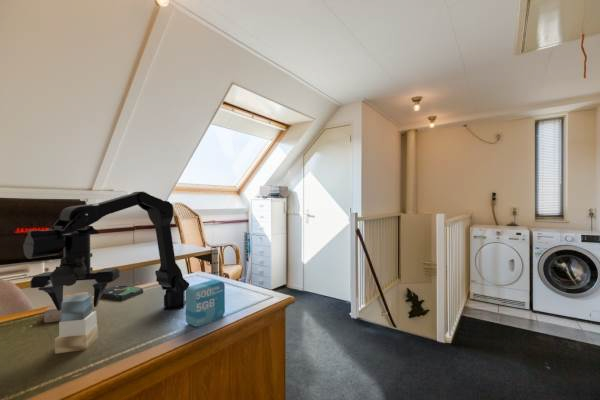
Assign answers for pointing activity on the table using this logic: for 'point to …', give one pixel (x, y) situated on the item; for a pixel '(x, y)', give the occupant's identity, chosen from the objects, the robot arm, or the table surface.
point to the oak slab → (76, 341)
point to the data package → (205, 302)
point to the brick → (53, 313)
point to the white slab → (77, 326)
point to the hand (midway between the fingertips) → (77, 308)
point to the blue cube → (76, 307)
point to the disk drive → (121, 292)
